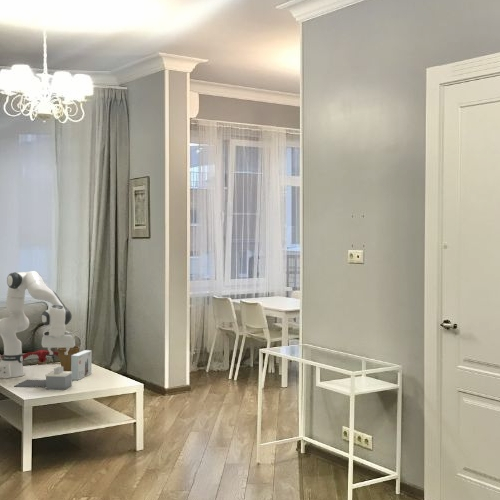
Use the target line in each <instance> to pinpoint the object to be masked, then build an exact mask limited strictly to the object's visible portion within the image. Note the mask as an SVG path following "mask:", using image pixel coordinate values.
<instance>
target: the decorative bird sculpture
mask: <svg viewBox="0 0 500 500" xmlns="http://www.w3.org/2000/svg"><path fill="white" fill-rule="evenodd" d="M51 351H52V352H53V355H55V356H56V357H58V358H59V356H58V351H55V350H51ZM32 355H35V356H37V361H38V363H39V365H41V363H43V365H45V364H46V363H45V362H46V361H47V360H48V358H47V355H50V352H49V351H48V350H45V349H39V350H36V351H30V352H26V353H24V354H23V361H25V359H27V358H28V357H30V356H32Z"/></svg>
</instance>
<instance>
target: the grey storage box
mask: <svg viewBox="0 0 500 500" xmlns="http://www.w3.org/2000/svg"><path fill="white" fill-rule="evenodd" d="M45 380H46V387H45V389H46V390H51V391H52V390H54V391H56V390H57V391H58V390H59V391H60V390H61V391H65V390H68V389H69V388H71V387H72V386H73V383H72V381H73V380H72V373H71V374H69V375H68V376H66V377H56V376H45Z"/></svg>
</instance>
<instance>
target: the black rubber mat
mask: <svg viewBox="0 0 500 500" xmlns="http://www.w3.org/2000/svg"><path fill="white" fill-rule="evenodd" d="M13 387H14V388H46V379H25V380H23V381H20V383H17V384H15V385H13Z"/></svg>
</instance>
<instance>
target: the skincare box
mask: <svg viewBox="0 0 500 500" xmlns="http://www.w3.org/2000/svg"><path fill="white" fill-rule="evenodd" d="M92 351H93V350H89V349H86V350H85V349H84V350H82V351H79V353H76V354H74V355H71V371H72V381H78V380H81V379H83V378H85V377H88V376H90V375H92V364H93V363H92V358H93V357H92V356H93V352H92Z"/></svg>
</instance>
